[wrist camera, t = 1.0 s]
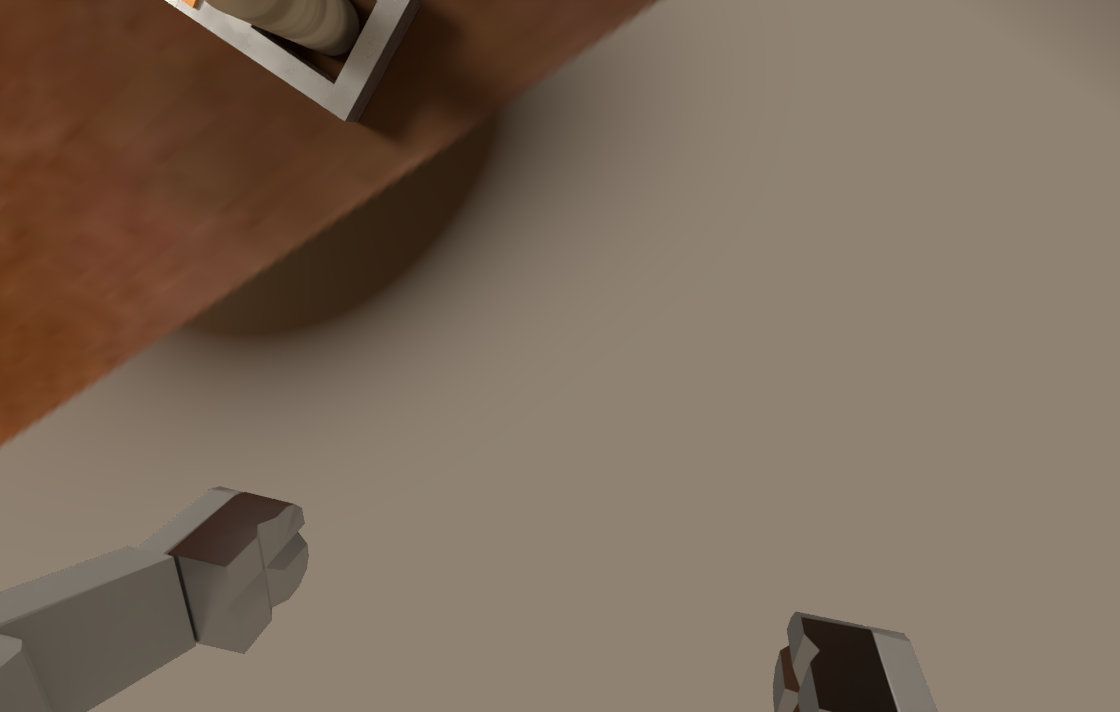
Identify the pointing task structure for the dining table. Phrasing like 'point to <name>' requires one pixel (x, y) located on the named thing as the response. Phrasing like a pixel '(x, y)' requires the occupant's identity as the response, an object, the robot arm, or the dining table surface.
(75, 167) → the dining table surface
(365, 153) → the dining table surface
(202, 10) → the board
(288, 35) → the peg
